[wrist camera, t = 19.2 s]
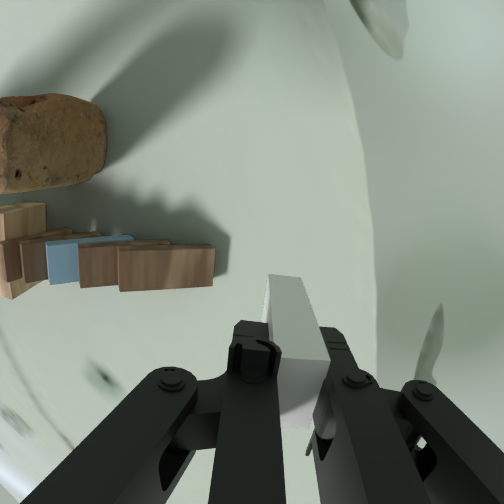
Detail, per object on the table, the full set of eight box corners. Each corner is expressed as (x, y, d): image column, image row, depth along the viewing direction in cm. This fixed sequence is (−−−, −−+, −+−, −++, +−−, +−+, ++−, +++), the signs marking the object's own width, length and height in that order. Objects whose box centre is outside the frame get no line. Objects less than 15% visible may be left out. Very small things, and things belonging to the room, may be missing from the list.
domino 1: (66, 259, 42) (1, 278, 31) (65, 227, 41) (-3, 241, 30) (73, 262, 41) (7, 282, 30) (72, 229, 40) (2, 245, 29)
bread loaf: (103, 184, 39) (4, 202, 20) (62, 178, 39) (-38, 193, 19) (117, 107, 36) (23, 76, 17) (74, 106, 36) (-23, 84, 17)
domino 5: (206, 279, 42) (118, 284, 36) (209, 244, 41) (117, 246, 35) (212, 285, 40) (119, 291, 35) (215, 248, 39) (119, 251, 33)
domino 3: (128, 268, 42) (48, 278, 34) (128, 234, 41) (45, 241, 33) (133, 273, 40) (50, 284, 33) (134, 238, 39) (46, 246, 31)
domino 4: (163, 274, 42) (79, 281, 35) (165, 239, 41) (77, 243, 34) (169, 279, 40) (80, 288, 34) (170, 243, 39) (78, 248, 32)
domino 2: (96, 264, 42) (22, 278, 33) (95, 231, 41) (18, 241, 31) (102, 268, 41) (25, 283, 31) (101, 234, 39) (21, 245, 30)
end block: (24, 271, 43) (-12, 291, 33) (20, 201, 40) (-21, 211, 30) (49, 276, 43) (12, 299, 33) (45, 203, 40) (3, 213, 30)
